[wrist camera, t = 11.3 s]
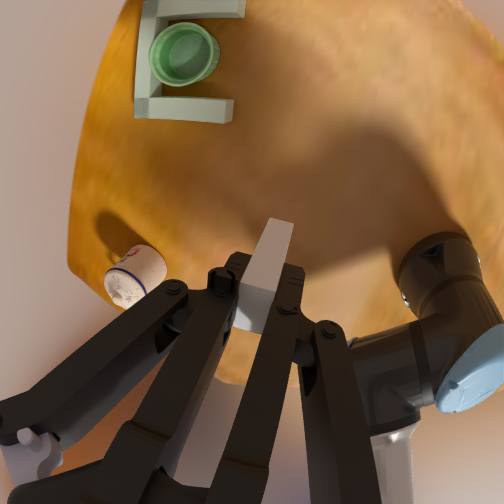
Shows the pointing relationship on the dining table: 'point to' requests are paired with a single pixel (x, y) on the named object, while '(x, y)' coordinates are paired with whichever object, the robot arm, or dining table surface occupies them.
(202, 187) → the dining table surface
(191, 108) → the holder
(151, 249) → the teacup with lid
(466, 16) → the dining table surface
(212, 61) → the ramekin
